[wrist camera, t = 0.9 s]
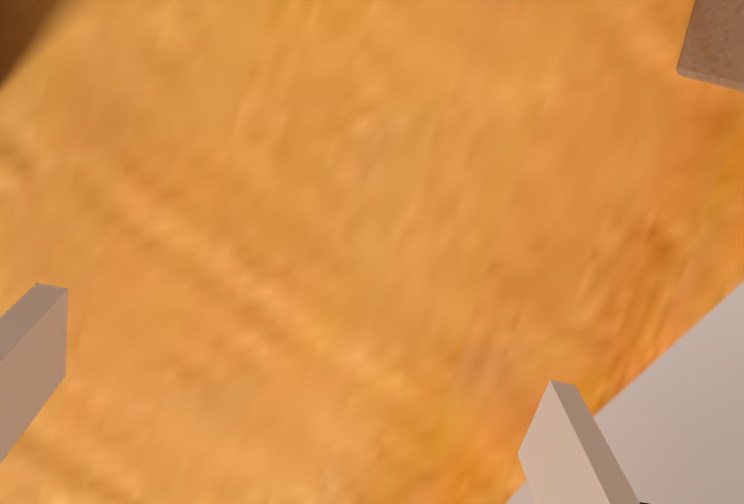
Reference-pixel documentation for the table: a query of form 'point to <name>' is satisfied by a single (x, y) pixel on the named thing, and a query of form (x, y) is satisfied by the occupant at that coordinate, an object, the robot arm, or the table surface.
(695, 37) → the wooden block
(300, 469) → the table surface
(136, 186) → the table surface
